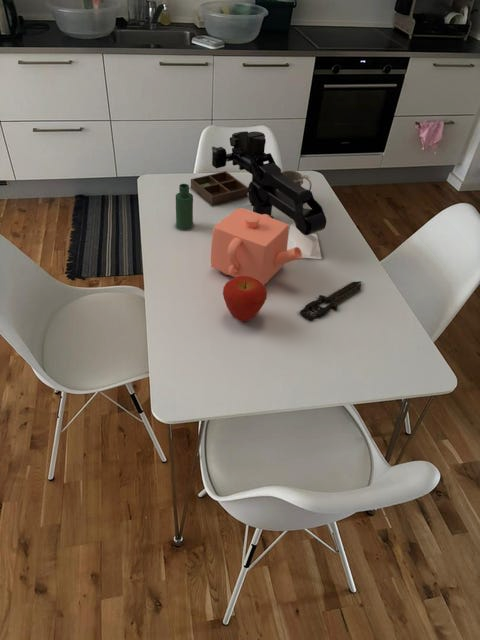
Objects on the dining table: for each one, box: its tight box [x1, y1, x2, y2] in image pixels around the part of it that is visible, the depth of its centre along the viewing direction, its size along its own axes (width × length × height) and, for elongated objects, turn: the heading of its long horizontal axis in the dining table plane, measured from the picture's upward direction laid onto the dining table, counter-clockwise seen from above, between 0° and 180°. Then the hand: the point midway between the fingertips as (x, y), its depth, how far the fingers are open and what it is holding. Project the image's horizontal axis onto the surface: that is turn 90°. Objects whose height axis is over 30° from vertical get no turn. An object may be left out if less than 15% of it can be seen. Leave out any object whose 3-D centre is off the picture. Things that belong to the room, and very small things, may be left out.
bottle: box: [175, 183, 194, 231], centre depth 163 cm, size 5×5×14 cm
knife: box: [299, 281, 362, 321], centre depth 142 cm, size 25×6×1 cm, turn 127°
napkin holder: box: [287, 222, 323, 260], centre depth 162 cm, size 15×11×6 cm
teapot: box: [210, 207, 302, 286], centre depth 144 cm, size 25×23×18 cm
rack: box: [190, 170, 249, 207], centre depth 186 cm, size 15×15×4 cm
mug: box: [279, 170, 312, 198], centre depth 181 cm, size 14×10×12 cm
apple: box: [222, 276, 268, 322], centre depth 131 cm, size 11×11×12 cm
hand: (223, 145), depth 179 cm, fingers open, 9 cm apart
